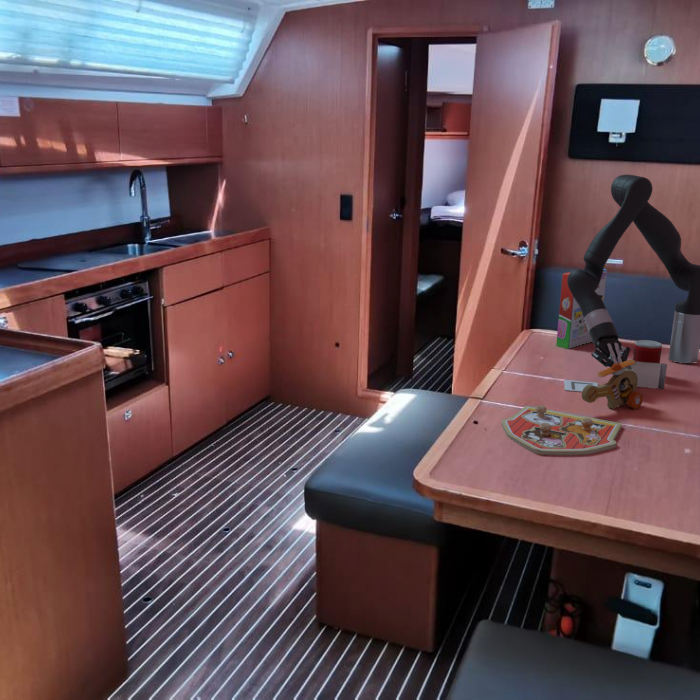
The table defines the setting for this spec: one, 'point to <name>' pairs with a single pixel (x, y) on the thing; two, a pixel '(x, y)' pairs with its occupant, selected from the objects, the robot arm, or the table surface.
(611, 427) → the knob puzzle
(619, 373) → the toy helicopter
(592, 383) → the card
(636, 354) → the canned food
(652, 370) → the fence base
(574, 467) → the table surface
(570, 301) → the game box
